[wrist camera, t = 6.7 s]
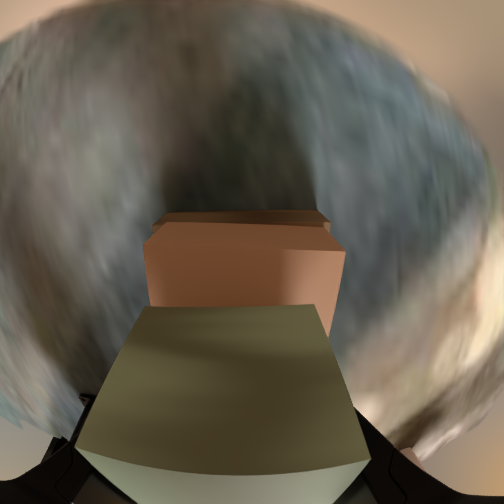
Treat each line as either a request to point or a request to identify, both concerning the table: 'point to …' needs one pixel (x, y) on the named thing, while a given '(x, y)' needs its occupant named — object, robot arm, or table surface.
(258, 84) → the table surface
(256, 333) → the cube
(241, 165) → the table surface
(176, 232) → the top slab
